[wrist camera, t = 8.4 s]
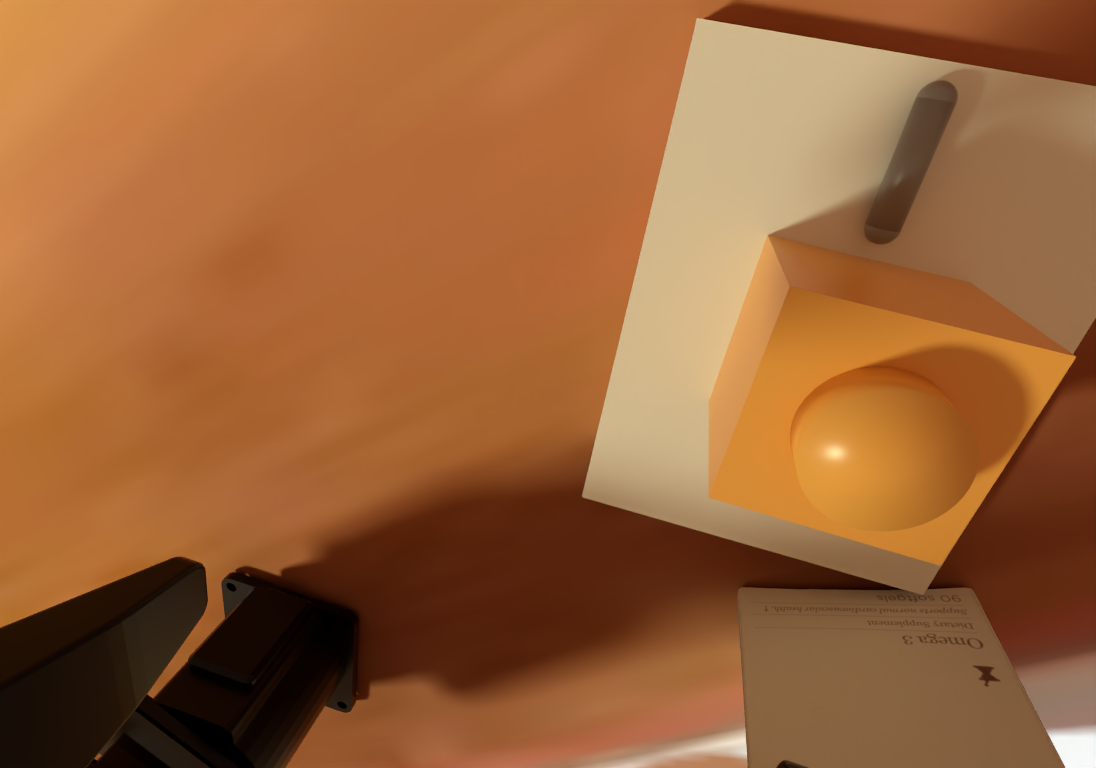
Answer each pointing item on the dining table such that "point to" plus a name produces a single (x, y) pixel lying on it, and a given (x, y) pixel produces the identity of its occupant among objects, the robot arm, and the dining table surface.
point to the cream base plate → (833, 238)
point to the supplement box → (882, 682)
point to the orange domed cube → (872, 398)
